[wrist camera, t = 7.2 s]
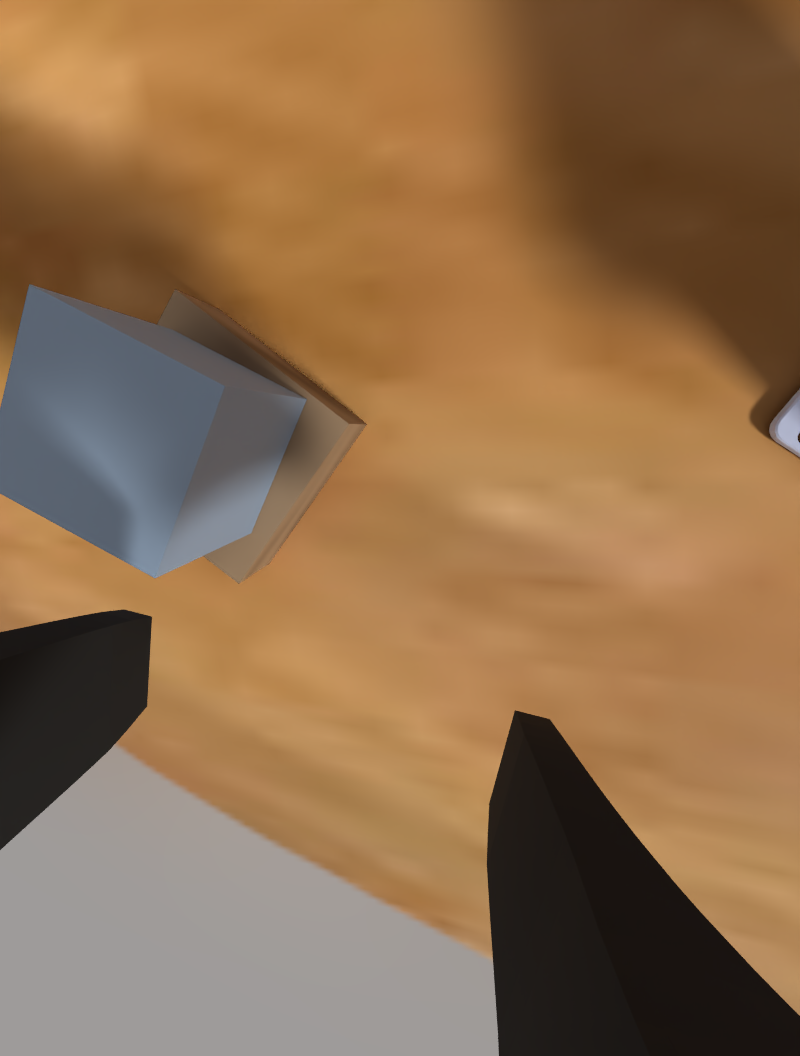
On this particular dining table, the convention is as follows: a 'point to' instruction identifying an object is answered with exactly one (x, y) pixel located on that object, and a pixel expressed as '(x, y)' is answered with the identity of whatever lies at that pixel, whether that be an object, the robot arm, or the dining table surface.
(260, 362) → the walnut block
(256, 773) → the dining table surface
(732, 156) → the dining table surface
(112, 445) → the blue cube
